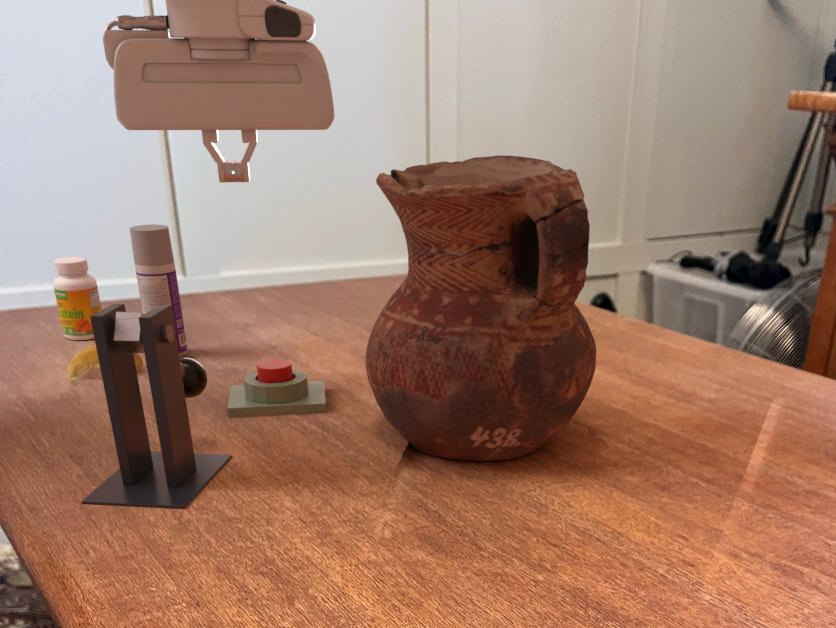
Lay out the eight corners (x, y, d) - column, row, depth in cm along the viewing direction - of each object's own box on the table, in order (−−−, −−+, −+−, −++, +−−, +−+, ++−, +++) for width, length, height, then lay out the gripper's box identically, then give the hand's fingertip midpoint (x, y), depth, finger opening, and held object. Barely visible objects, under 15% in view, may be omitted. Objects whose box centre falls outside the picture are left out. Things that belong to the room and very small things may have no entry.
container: (171, 346, 131) (152, 223, 123) (195, 352, 129) (177, 226, 121) (142, 355, 128) (120, 228, 120) (166, 361, 125) (145, 232, 118)
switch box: (229, 429, 104) (224, 391, 102) (233, 404, 111) (228, 368, 109) (327, 423, 105) (324, 386, 103) (325, 400, 112) (322, 364, 110)
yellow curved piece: (148, 366, 123) (143, 333, 121) (135, 389, 116) (129, 353, 114) (78, 368, 123) (71, 335, 120) (61, 391, 115) (53, 356, 113)
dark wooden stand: (141, 465, 95) (109, 292, 87) (234, 469, 94) (210, 295, 86) (84, 517, 85) (42, 327, 77) (187, 523, 84) (155, 330, 76)
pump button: (257, 386, 104) (255, 369, 104) (258, 376, 108) (256, 360, 107) (293, 385, 105) (291, 368, 104) (293, 375, 108) (291, 358, 107)
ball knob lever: (174, 402, 95) (177, 365, 96) (211, 403, 95) (214, 366, 95) (104, 347, 81) (108, 303, 82) (147, 348, 81) (151, 305, 81)
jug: (333, 461, 96) (310, 173, 83) (419, 396, 113) (411, 148, 100) (557, 492, 90) (570, 185, 77) (613, 418, 107) (631, 157, 94)
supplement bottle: (56, 340, 134) (39, 263, 129) (76, 329, 139) (61, 255, 134) (94, 341, 133) (79, 264, 128) (113, 331, 138) (99, 256, 133)
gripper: (92, 14, 88) (120, 187, 95) (329, 17, 91) (339, 185, 98) (104, 15, 94) (129, 178, 101) (327, 18, 96) (337, 177, 103)
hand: (234, 181), depth 99 cm, fingers closed
